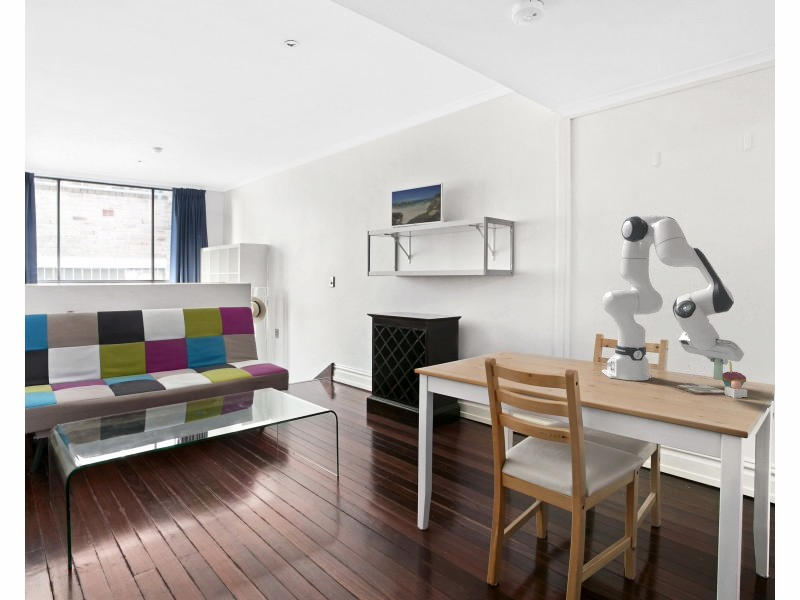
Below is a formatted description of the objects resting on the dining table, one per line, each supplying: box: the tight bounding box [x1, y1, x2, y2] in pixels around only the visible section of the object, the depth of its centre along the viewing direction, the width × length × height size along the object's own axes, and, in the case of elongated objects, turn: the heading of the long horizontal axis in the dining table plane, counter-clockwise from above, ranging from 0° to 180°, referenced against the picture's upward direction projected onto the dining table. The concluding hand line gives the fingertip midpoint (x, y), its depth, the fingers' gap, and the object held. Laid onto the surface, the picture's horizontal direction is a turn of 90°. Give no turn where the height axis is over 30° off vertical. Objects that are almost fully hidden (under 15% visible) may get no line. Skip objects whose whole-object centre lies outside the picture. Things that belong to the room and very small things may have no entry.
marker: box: [713, 358, 724, 381], centre depth 181 cm, size 3×3×12 cm
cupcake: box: [721, 360, 747, 388], centre depth 194 cm, size 9×8×12 cm
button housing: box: [723, 386, 748, 399], centre depth 183 cm, size 5×5×3 cm
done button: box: [731, 381, 742, 389], centre depth 183 cm, size 3×3×4 cm
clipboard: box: [674, 382, 725, 395], centre depth 193 cm, size 15×14×1 cm
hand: (719, 361), depth 181 cm, fingers closed on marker, 3 cm apart
